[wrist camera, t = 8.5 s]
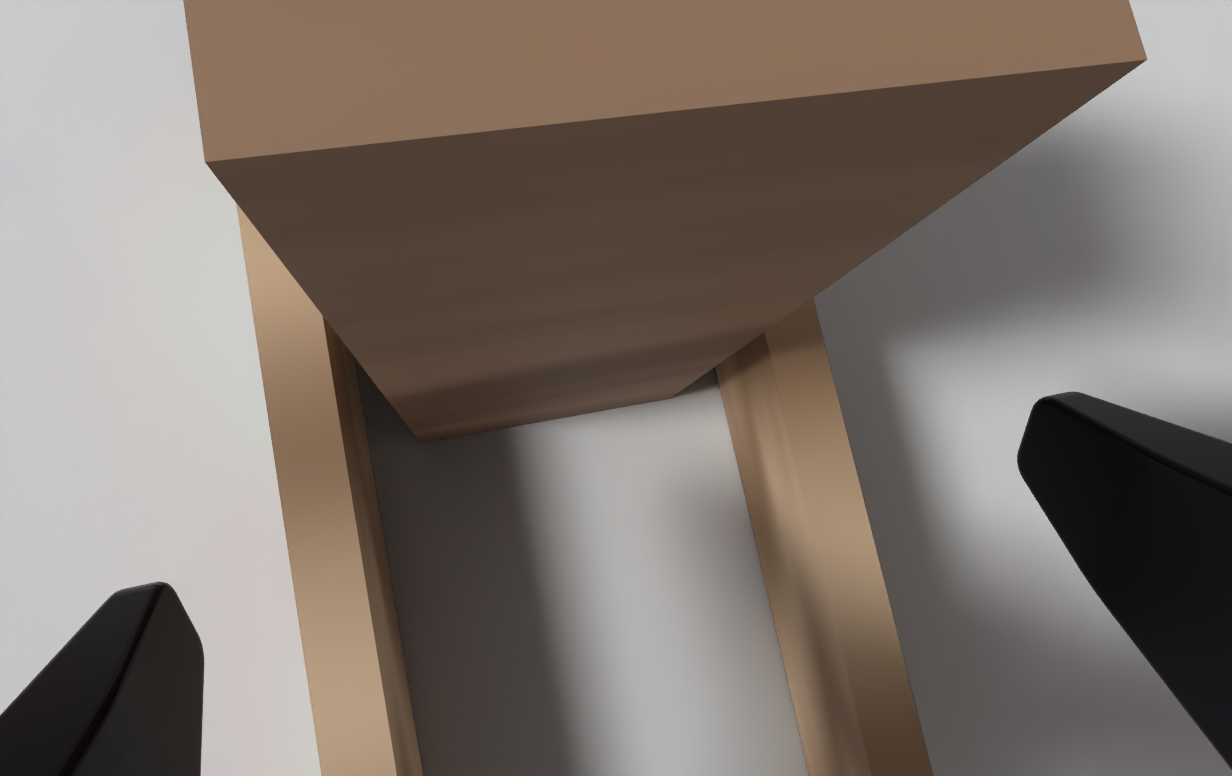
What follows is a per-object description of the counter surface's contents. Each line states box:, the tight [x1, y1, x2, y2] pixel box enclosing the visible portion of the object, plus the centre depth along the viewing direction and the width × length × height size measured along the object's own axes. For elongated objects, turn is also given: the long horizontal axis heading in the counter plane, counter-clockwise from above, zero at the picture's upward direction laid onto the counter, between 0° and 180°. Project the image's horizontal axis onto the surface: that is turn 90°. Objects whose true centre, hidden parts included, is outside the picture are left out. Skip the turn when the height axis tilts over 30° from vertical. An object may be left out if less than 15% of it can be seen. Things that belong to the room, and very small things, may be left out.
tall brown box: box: [183, 0, 1147, 443], centre depth 10 cm, size 5×5×12 cm
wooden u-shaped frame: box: [236, 203, 933, 776], centre depth 14 cm, size 20×9×4 cm, turn 12°
